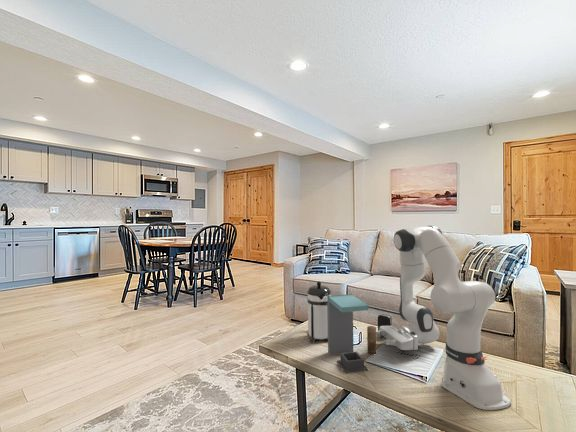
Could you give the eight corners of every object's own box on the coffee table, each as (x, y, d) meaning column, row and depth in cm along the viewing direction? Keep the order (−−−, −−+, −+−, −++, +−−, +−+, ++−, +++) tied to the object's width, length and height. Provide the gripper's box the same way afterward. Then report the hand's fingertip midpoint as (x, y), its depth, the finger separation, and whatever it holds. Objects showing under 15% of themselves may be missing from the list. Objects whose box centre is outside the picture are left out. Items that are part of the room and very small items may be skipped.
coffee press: (340, 337, 157) (340, 281, 157) (321, 346, 146) (320, 286, 146) (316, 328, 170) (315, 276, 169) (296, 336, 159) (295, 281, 158)
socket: (368, 370, 124) (368, 360, 124) (345, 373, 122) (345, 363, 121) (357, 359, 133) (357, 350, 133) (336, 361, 131) (336, 352, 131)
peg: (377, 354, 138) (377, 328, 137) (370, 355, 137) (369, 329, 137) (373, 350, 141) (373, 325, 141) (366, 351, 141) (365, 326, 141)
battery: (392, 336, 157) (392, 315, 157) (390, 338, 154) (390, 317, 154) (379, 333, 162) (379, 312, 162) (377, 335, 159) (377, 314, 158)
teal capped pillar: (369, 369, 125) (368, 305, 125) (342, 372, 122) (341, 307, 122) (351, 349, 142) (351, 294, 142) (328, 352, 140) (327, 295, 140)
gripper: (394, 321, 153) (369, 323, 150) (419, 337, 133) (391, 340, 130) (394, 333, 153) (370, 336, 150) (419, 351, 133) (391, 354, 130)
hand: (380, 338), depth 140 cm, fingers open, 8 cm apart
